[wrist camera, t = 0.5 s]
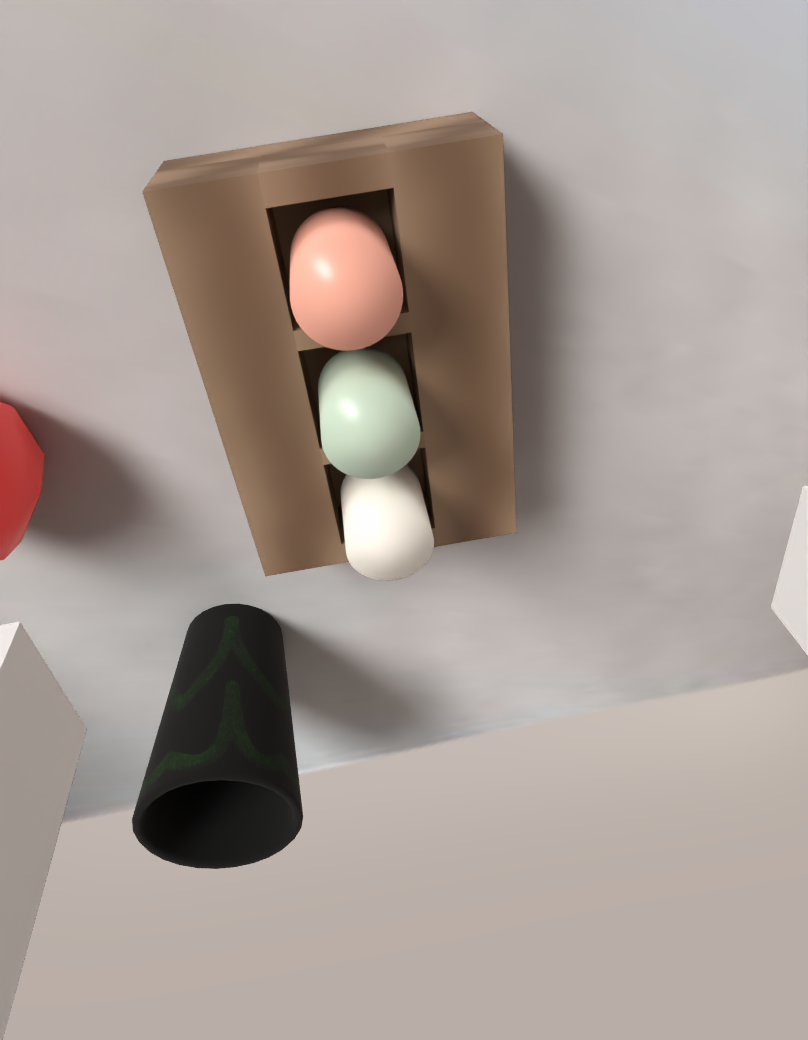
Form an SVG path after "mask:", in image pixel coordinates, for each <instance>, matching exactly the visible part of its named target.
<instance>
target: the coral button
mask: <svg viewBox="0 0 808 1040" xmlns="http://www.w3.org/2000/svg"><path fill="white" fill-rule="evenodd" d="M290 303H291V308H292V312H293V315H294V317H295V319H296V321H297V323H298V324H299V326H300V327H301V329H302V330H303V331H304V332H305V333H306V334H307V335H308V336H309V337H310V338H311V339H313V340H314V341H315V342H317V343H319V344H321V345H323V346H325V347H328V348H331V349H335V350H342V351H351V350H358V349H362V348H365V347H368V346H371V345H372V344H374V343H376V342H378V341H379V340H381V339H382V338H383V337H384V336H385V335H387V334H388V332H389V331H390V330H391V329H392V328H393V326H394V325H395V323H396V321H397V319H398V317H399V315H400V312H401V308H402V303H403V287H402V282H401V278H400V275H399V273H398V270H397V267H396V264H395V262H394V259H393V256H392V253H391V251H390V248H389V245H388V242H387V240H386V237H385V235H384V233H383V231H382V230H381V228H380V227H379V225H378V224H377V223H376V222H375V221H374V220H373V219H372V218H371V217H370V216H368V215H367V214H365V213H363V212H361V211H359V210H357V209H354V208H351V207H345V206H334V207H328V208H324V209H322V210H319V211H317V212H315V213H313V214H312V215H310V216H309V217H308V218H307V219H306V220H305V221H304V222H303V223H302V224H301V225H300V227H299V228H298V230H297V231H296V233H295V235H294V238H293V240H292V244H291V250H290Z"/></svg>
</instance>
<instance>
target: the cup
mask: <svg viewBox="0 0 808 1040" xmlns="http://www.w3.org/2000/svg"><path fill="white" fill-rule="evenodd" d="M302 820H303V812H302V803H301V795H300V786H299V777H298V768H297V759H296V751H295V742H294V733H293V724H292V715H291V707H290V698H289V689H288V680H287V671H286V663H285V654H284V645H283V636H282V632H281V628H280V626H279V625H278V623H277V621H276V620H275V619H274V618H273V617H272V616H271V615H269V614H268V613H266V612H264V611H263V610H261V609H258V608H255V607H252V606H249V605H242V604H225V605H220V606H216V607H213V608H210V609H208V610H206V611H204V612H202V613H201V614H199V615H198V616H197V617H196V618H195V619H194V620H193V621H192V623H191V624H190V626H189V628H188V631H187V634H186V638H185V641H184V644H183V648H182V651H181V655H180V658H179V661H178V665H177V668H176V672H175V675H174V678H173V682H172V685H171V689H170V692H169V695H168V699H167V702H166V706H165V709H164V712H163V716H162V719H161V723H160V726H159V729H158V733H157V736H156V740H155V743H154V747H153V750H152V753H151V757H150V760H149V764H148V767H147V770H146V774H145V777H144V781H143V784H142V787H141V791H140V794H139V798H138V801H137V804H136V808H135V811H134V815H133V818H132V823H133V832H134V834H135V835H136V837H137V839H138V841H139V842H140V843H141V844H142V845H143V846H144V847H145V848H146V849H147V850H148V851H150V852H151V853H152V854H154V855H156V856H158V857H160V858H162V859H163V860H166V861H169V862H172V863H175V864H179V865H183V866H189V867H195V868H213V869H218V868H230V867H237V866H242V865H247V864H251V863H255V862H257V861H260V860H263V859H266V858H268V857H270V856H272V855H274V854H275V853H277V852H279V851H281V850H282V849H283V848H285V847H286V846H287V845H288V844H289V843H290V842H291V841H292V840H293V839H295V837H296V835H297V834H298V832H299V831H300V829H301V826H302Z"/></svg>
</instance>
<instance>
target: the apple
mask: <svg viewBox="0 0 808 1040" xmlns="http://www.w3.org/2000/svg"><path fill="white" fill-rule="evenodd" d="M44 460H45V455H44V453H43V452H42V450H41V449H40V447H39V445H38V444H37V442H36V441H35V439H34V438H33V436H32V435H31V433H30V432H29V430H28V428H27V427H26V425H25V424H24V422H23V421H22V419H21V418H20V416H19V415H18V413H17V411H16V410H15V408H14V407H13V406H10V405H8V404H5V403H2V402H0V560H3V559H5V558H6V557H7V556H8V555H9V554H10V553H11V552H12V551H13V550H14V549H15V548H16V547H17V545H18V544H19V543H20V542H21V541H22V538H23V536H24V533H25V531H26V528H27V526H28V523H29V521H30V518H31V516H32V513H33V511H34V508H35V506H36V503H37V501H38V498H39V496H40V493H41V489H42V479H43V469H44Z"/></svg>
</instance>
